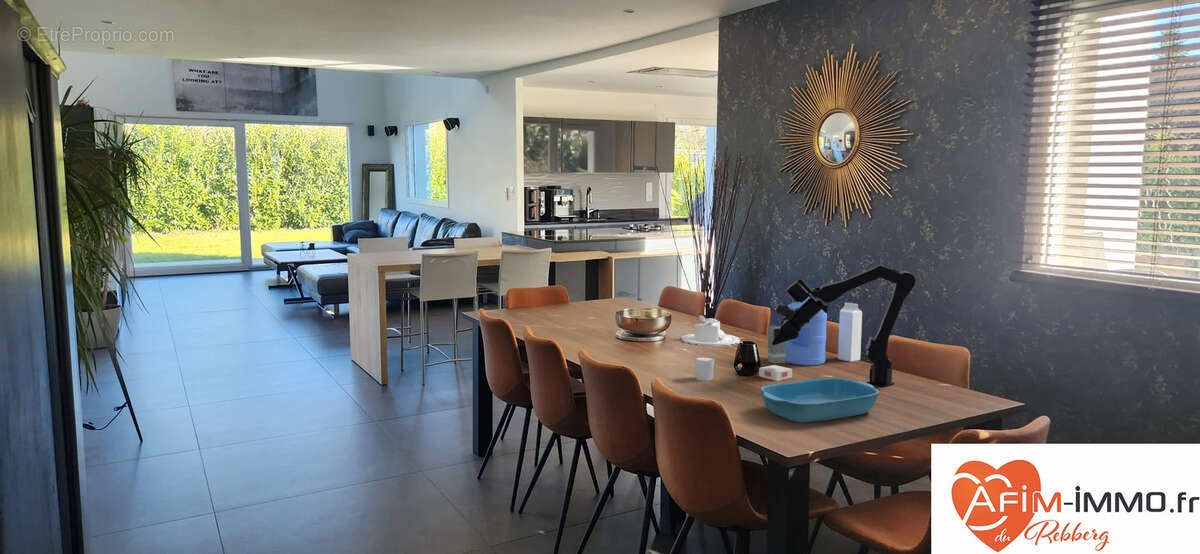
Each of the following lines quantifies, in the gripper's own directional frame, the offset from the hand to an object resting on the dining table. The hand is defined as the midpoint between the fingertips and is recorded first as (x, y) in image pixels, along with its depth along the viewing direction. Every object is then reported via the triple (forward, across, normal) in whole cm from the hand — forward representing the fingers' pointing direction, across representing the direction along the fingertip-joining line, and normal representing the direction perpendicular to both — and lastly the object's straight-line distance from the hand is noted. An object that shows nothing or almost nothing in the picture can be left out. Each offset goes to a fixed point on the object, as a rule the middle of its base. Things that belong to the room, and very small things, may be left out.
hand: (772, 342), depth 283 cm
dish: (+29, -62, -11) cm, 69 cm away
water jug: (+1, -29, +17) cm, 34 cm away
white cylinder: (+25, +8, -7) cm, 27 cm away
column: (+4, 0, +6) cm, 7 cm away
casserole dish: (-2, +40, +20) cm, 44 cm away
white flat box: (+8, -1, +10) cm, 12 cm away
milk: (-10, -38, +29) cm, 48 cm away
